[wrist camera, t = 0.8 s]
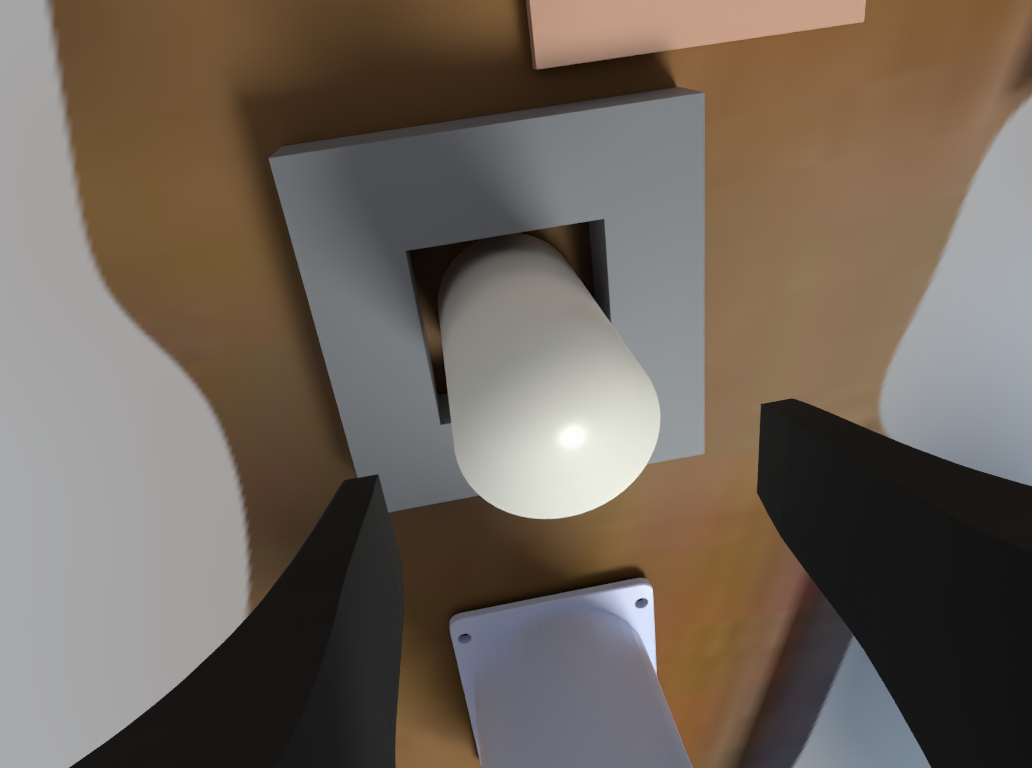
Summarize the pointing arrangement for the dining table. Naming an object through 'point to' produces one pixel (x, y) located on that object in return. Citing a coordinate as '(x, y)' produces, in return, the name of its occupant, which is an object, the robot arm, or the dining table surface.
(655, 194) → the grey square frame
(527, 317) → the plug
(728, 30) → the tile
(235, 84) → the dining table surface
